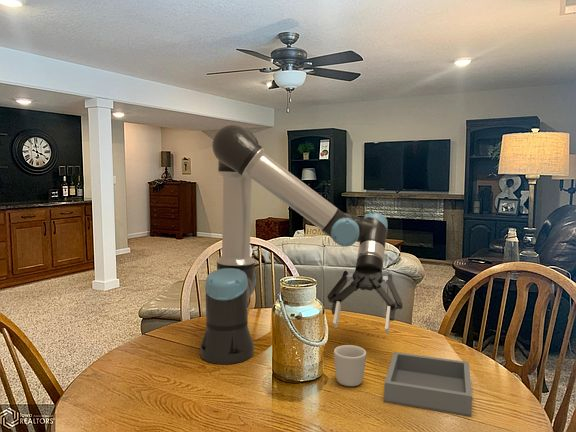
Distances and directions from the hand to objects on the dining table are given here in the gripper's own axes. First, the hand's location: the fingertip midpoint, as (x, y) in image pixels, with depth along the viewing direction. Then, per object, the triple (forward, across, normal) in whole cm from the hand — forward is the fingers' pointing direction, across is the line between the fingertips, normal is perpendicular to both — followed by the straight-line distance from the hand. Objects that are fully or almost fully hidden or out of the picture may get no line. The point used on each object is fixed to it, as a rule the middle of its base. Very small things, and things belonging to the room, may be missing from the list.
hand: (360, 328), depth 119 cm
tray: (+12, -18, -3) cm, 22 cm away
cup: (+13, +2, -3) cm, 13 cm away
